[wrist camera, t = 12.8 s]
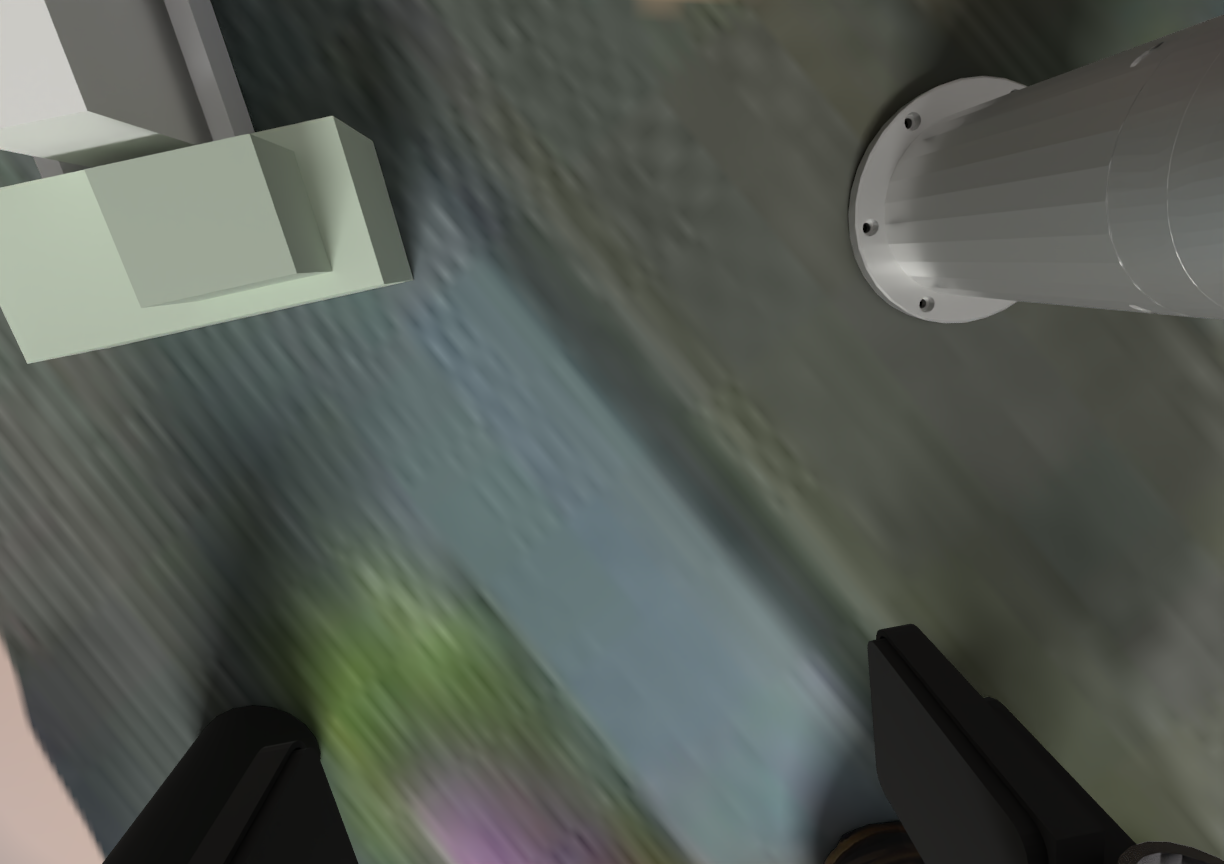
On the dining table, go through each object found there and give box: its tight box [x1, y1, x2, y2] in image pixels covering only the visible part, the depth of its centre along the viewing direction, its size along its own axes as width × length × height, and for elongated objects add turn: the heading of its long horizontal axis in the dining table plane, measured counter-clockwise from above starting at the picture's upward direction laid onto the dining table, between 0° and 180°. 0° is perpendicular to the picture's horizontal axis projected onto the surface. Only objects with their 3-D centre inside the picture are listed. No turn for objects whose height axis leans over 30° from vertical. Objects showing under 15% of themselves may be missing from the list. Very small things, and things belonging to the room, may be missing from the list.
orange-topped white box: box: [0, 0, 213, 168], centre depth 26 cm, size 5×9×9 cm, turn 11°
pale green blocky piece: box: [0, 0, 413, 364], centre depth 27 cm, size 16×17×10 cm
